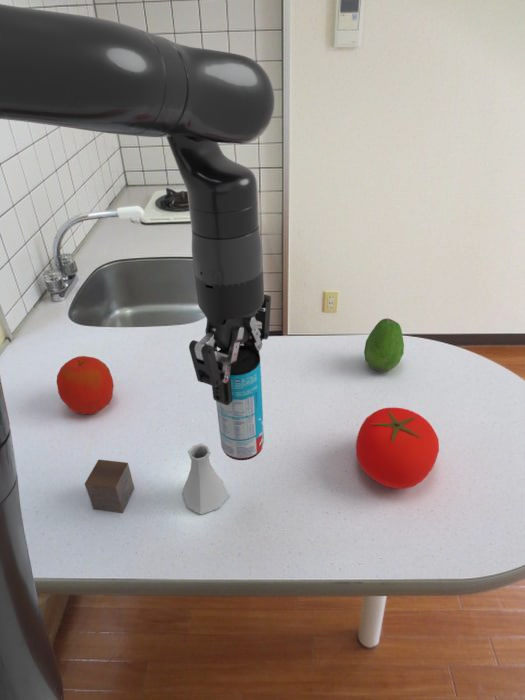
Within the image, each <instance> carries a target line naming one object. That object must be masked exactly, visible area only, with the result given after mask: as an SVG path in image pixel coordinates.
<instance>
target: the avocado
mask: <svg viewBox="0 0 525 700" xmlns="http://www.w3.org/2000/svg"><path fill="white" fill-rule="evenodd" d="M404 350H405V343H404V337H403V331H402V327H401V325H400V324H399V322H397V321H395V320H393V319H391V318H389V317H388V318H382V319H381V320H379V321H378V322H377V324H376V325H375V326H374V327H373V329H372V330H371V331H370V333H369V335H368V337H367V338H366V340H365V345H364V351H363V355H364V359H365V362H366V364H367V365H368V366H369V367H370V368H372V369H374V370H375V371H378V372H390V371H391V370H394V369H395V368H396V367H397V366H398V365H399V364H400V362H401V360H402V358H403V355H404Z"/></svg>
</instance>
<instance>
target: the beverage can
mask: <svg viewBox="0 0 525 700" xmlns="http://www.w3.org/2000/svg"><path fill="white" fill-rule="evenodd" d="M218 352H220V353H223V354H226V355H229V351H225V350H222V349H219V350H218ZM217 365H218V370H221V371H222V369H223V363H222V362H219V361H218V364H217ZM261 368H262V367H261V354H260V352H259V353H258V352H257V351H256V350H255V349H253V348H251V347H248V346H243V345H240V347H239V350H238V356H237V361H236V363H234V364H232V367H231V373H230V378H229V379H231V390H232V402H231V403H230V404H229V405H225V404H222V403H220V402H217V401H215V404H216V414H217V421H218V430H219V439H220V447H221V449H222V451H223V453H224V454H225V455H226V456H227V457H229V458H230V459H232V460H235V461H247V460H251V459H253V458H255V457H257V455H259V454H260V453H261V452H262V450H263V448H264V445H265V438H264V437H265V434H264V433H265V432H264V411H263V390H262V389H263V387H262V369H261Z"/></svg>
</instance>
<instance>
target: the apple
mask: <svg viewBox="0 0 525 700" xmlns="http://www.w3.org/2000/svg"><path fill="white" fill-rule="evenodd" d="M56 387H57V392H58V396H59V398H60V400H61V401H62V402H63V403H64V404H65V405H66V407H67V408H68V409H69V410H70V411H72V412H73V413H75V414H83V415H94V414H95V413H98V412H100V411H101V410H102V409H104V408H106V407H107V406H108V405H109V404H110V403H111V401H112V398H113V395H114V394H113V393H114V378H113V376H112V373H111V370H110V368H109V366H108V365H106V363H105V362H103V361H102V360H100V358H99V359H98V358H96V357H93V356H87V355H86V356H85V355H79V356H75V357H72V358H71V359H70V360H68V361H66V362H65V363H64V364H63V365H62V366H61V367H60V369H59V371H58V373H57V375H56Z"/></svg>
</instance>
